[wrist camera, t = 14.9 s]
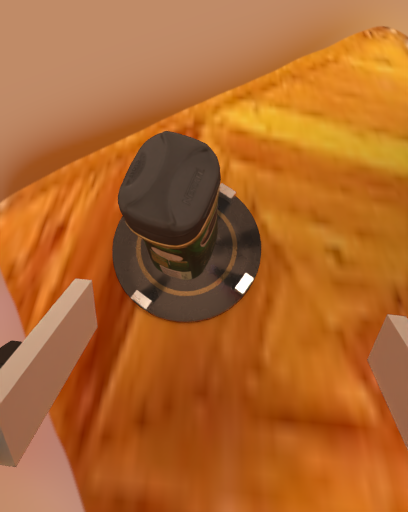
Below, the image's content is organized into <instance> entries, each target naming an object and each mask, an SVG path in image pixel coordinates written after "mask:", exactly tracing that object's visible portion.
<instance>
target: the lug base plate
mask: <svg viewBox="0 0 408 512" xmlns="http://www.w3.org/2000/svg"><path fill="white" fill-rule="evenodd" d="M217 221H218V235H217V240H216V244H215V247H214V250H213V252H212V255H211V257H210V260H209V261H208V263H207V266H206V267H205V269H204V271H203V272H202V273H201V274H200V275H199V276H198V277H196V278H194V279H190V280H183V279H178V278H175V277H172V276H169V275H167V274H165V273H163V272H161V271H160V270H158V269H157V268H156V267H155V266H154V264H153V263H152V261H151V259H150V256H149V253H148V250H147V247H146V244H145V242H144V239H142V238H140V237H139V236H137V235H136V234H135V233H134V232H133V231H132V230H131V229H130V228H129V227H128V225H127V224H126V221H125V219H124V216H123V217H122V218H121V220H120V222H119V224H118V227H117V229H116V232H115V236H114V241H113V263H114V268H115V271H116V275H117V277H118V279H119V282H120V284H121V285H122V287H123V289H124V290H125V292H126V293H127V294H128V295H129V297H130V298H131V299H132V300H133V301H134V302H135V303H137V304H138V305H139V306H140V307H142V308H143V309H145V310H146V311H148V312H149V313H151V314H153V315H155V316H157V317H160V318H163V319H166V320H169V321H175V322H198V321H203V320H207V319H210V318H213V317H215V316H218V315H220V314H222V313H223V312H225V311H227V310H228V309H230V308H231V307H232V306H234V305H235V304H236V303H237V302H238V301H239V300H240V299H241V298H242V297H243V296H244V294H245V293H246V292H247V291H248V289H249V287H250V286H251V284H252V282H253V281H254V278H255V276H256V274H257V271H258V267H259V264H260V257H261V241H260V234H259V231H258V228H257V225H256V223H255V220H254V218H253V216H252V215H251V213H250V212H249V210H248V209H247V207H246V206H245V205H244V204H243V203H242V202H241V201H240V200H239V199H238V198H237V197H236V192H235V191H234V190H232V189H231V188H229V187H227V186H226V185H224V184H223V183H221V185H220V188H219V196H218V207H217Z"/></svg>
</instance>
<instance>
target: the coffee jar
mask: <svg viewBox="0 0 408 512" xmlns="http://www.w3.org/2000/svg"><path fill="white" fill-rule="evenodd" d="M220 180H221V176H220V166H219V162H218V159H217V157H216V155H215V153H214V152H213V151H212V149H211V148H210V147H209V146H208V145H207V144H205V143H203V142H201V141H199V140H196V139H194V138H191V137H188V136H185V135H182V134H178V133H174V132H169V131H164V132H163V133H159V134H157V135H155V136H153V137H152V138H150V139H148V140H147V141H146V142H145V143H144V144H143V145H142V147H141V148H140V149H139V151H138V153H137V155H136V156H135V158H134V160H133V162H132V163H131V165H130V167H129V169H128V171H127V173H126V176H125V178H124V180H123V183H122V185H121V187H120V190H119V194H118V204H119V208H120V211H121V213H122V215H123V216H124V219H125V221H126V224H127V225H128V227H129V228H130V229H131V230H132V231H133V232H134V233H135V234H136V235H137V236H139V237H140V238H142V239H144V242H145V244H146V247H147V250H148V253H149V256H150V259H151V261H152V263H153V264H154V266H155V267H156V268H157V269H158V270H160V271H161V272H163V273H165V274H167V275H169V276H172V277H175V278H178V279H183V280H190V279H194V278H196V277H198V276H199V275H200V274H201V273H202V272H203V271H204V269H205V267H206V266H207V263H208V261H209V260H210V257H211V255H212V252H213V250H214V247H215V244H216V240H217V235H218V221H217V207H218V196H219V188H220Z"/></svg>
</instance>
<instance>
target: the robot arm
mask: <svg viewBox="0 0 408 512" xmlns="http://www.w3.org/2000/svg"><path fill="white" fill-rule="evenodd" d="M96 328H97V320H96V311H95V303H94V295H93V287H92V280H83V279H75V280H74V281H73V282H72V283H71V284H70V286H69V287H68V288H67V289H66V291H65V292H64V293H63V294H62V295H61V297H60V298H59V299H58V300H57V301H56V303H55V304H54V305H53V306H52V307H51V309H50V310H49V311H48V312H47V313H46V315H45V316H44V317H43V318H42V319H41V321H40V322H39V323H38V324H37V325H36V327H35V328H34V329H33V330H32V331H31V333H30V334H29V335H28V336H27V337H26V339H25V340H24V341H23V342H19V341H10V342H8V343H7V344H5V345H4V346H2V347H1V348H0V465H5V466H13V467H16V466H17V464H18V463H19V461H20V459H21V458H22V456H23V454H24V453H25V451H26V449H27V447H28V446H29V444H30V442H31V440H32V439H33V437H34V435H35V434H36V432H37V430H38V428H39V427H40V425H41V423H42V421H43V420H44V418H45V416H46V415H47V413H48V411H49V409H50V408H51V406H52V404H53V403H54V401H55V399H56V397H57V396H58V394H59V392H60V390H61V389H62V387H63V385H64V384H65V382H66V380H67V378H68V377H69V375H70V373H71V371H72V370H73V368H74V366H75V365H76V363H77V361H78V359H79V358H80V356H81V354H82V353H83V351H84V349H85V347H86V346H87V344H88V342H89V340H90V339H91V337H92V335H93V334H94V332H95V330H96ZM367 360H368V363H369V365H370V367H371V369H372V371H373V374H374V376H375V378H376V380H377V383H378V385H379V387H380V389H381V391H382V394H383V396H384V398H385V400H386V403H387V405H388V407H389V409H390V412H391V414H392V416H393V418H394V420H395V423H396V425H397V427H398V429H399V432H400V434H401V436H402V438H403V441H404V443H405V445H406V447H407V449H408V319H407V318H406V316H398V315H389V314H387V316H386V318H385V321H384V323H383V325H382V327H381V330H380V332H379V334H378V337H377V339H376V341H375V343H374V346H373V348H372V350H371V353H370V355H369V357H368V359H367Z"/></svg>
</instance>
